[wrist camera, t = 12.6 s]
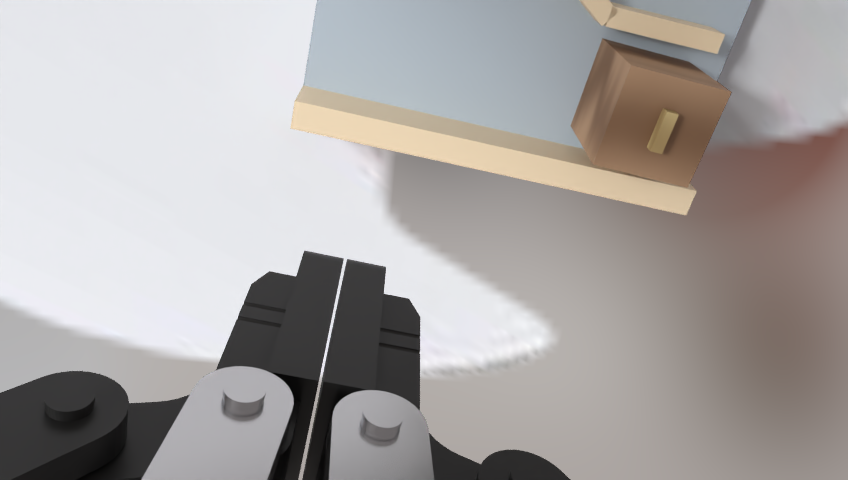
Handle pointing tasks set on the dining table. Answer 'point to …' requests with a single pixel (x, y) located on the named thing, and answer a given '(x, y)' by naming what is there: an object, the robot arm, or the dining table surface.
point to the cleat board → (495, 80)
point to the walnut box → (647, 113)
